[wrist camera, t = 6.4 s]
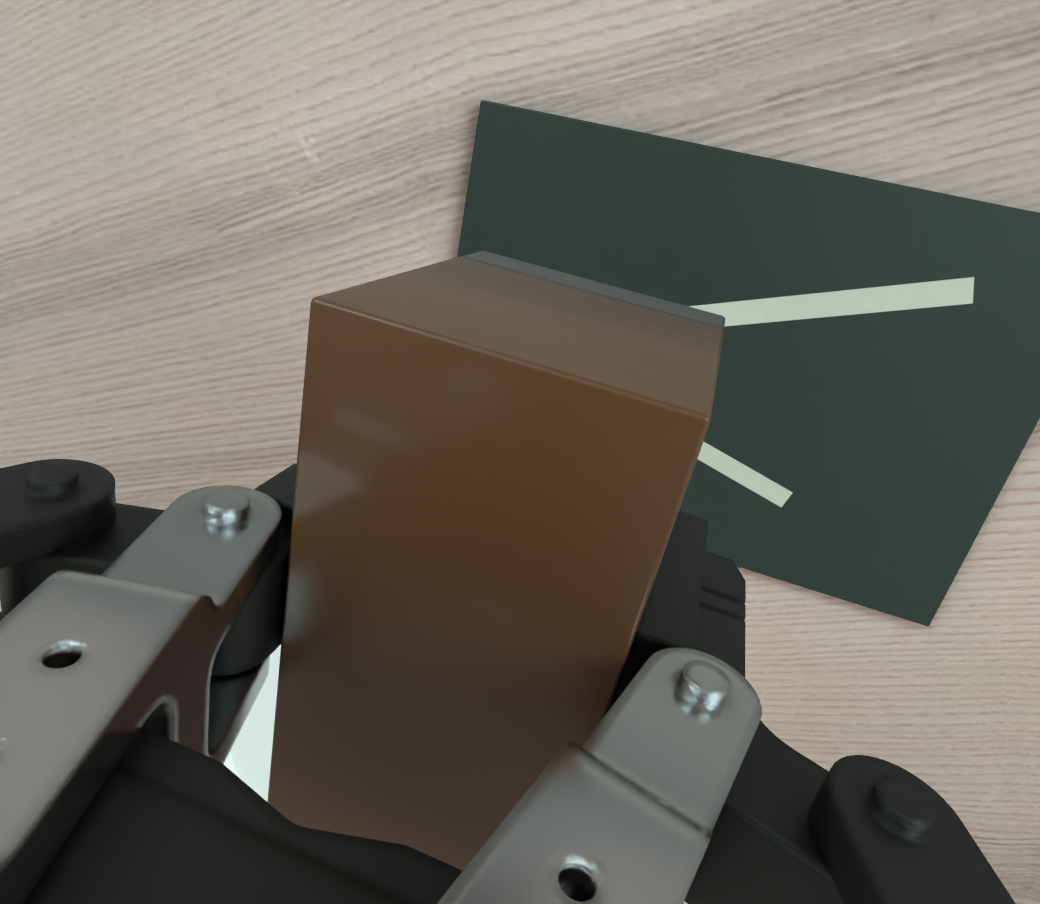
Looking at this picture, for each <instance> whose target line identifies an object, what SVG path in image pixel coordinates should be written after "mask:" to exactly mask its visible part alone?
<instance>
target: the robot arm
mask: <svg viewBox="0 0 1040 904" xmlns="http://www.w3.org/2000/svg"><path fill="white" fill-rule="evenodd" d="M296 469H297V464H293V465H292V466H290V467H289V468H287V469H285V470H284V471H282V472H281V473H279V474H278V475H276V476H274V477H273V478H271V479H270V480H268V481H267V482H265V483H263V484H262V485H260V486H259V487H257V488H256V489H250V488H245V487H239V486H212V487H205V488H200V489H197V490H193V491H191V492H188V493H186V494H184V495H182V496H180V497H179V498H177V499H176V500H175V501H174V502H173V503H172V504H171V505H170V506H169V507H168V508H167V509H166V510H158V509H152V508H145V507H138V506H132V505H125V504H118V503H116V500H115V479H114V477H113V475H112V474H111V473H110V472H109V471H108V470H106V469H105V468H103V467H101V466H99V465H96V464H93V463H89V462H85V461H79V460H70V459H50V460H40V461H34V462H28V463H23V464H19V465H14V466H10V467H5V468H1V469H0V600H1V609H2V612H0V904H683V902H684V901H686V902H687V903H688V904H1015V902H1014V901H1013V899H1012V898H1011V896H1010V895H1009V893H1008V892H1007V890H1006V889H1005V887H1004V886H1003V884H1002V882H1001V881H1000V879H999V878H998V876H997V875H996V873H995V872H994V870H993V869H992V867H991V866H990V864H989V863H988V861H987V860H986V858H985V856H984V855H983V853H982V852H981V850H980V849H979V847H978V846H977V844H976V843H975V841H974V840H973V838H972V837H971V835H970V834H969V832H968V831H967V829H966V827H965V826H964V824H963V823H962V821H961V820H960V818H959V817H958V816H957V814H956V813H955V812H954V810H953V809H952V808H951V807H950V806H949V805H948V803H947V802H946V801H945V800H944V799H943V798H942V797H941V796H940V795H939V794H938V793H937V792H936V791H934V790H933V789H932V788H931V787H930V786H928V785H927V784H926V783H925V782H923V781H922V780H920V779H919V778H917V777H916V776H914V775H913V774H912V773H910V772H908V771H906V770H904V769H903V768H901V767H899V766H897V765H894V764H892V763H890V762H888V761H885V760H882V759H879V758H875V757H870V756H863V755H853V756H847V757H844V758H841V759H839V760H838V761H837V762H835V763H834V765H833V766H832V768H831V769H830V771H827V770H825V769H824V768H822V767H821V766H819V765H817V764H816V763H814V762H813V761H811V760H809V759H808V758H806V757H805V756H803V755H801V754H800V753H798V752H797V751H795V750H794V749H792V748H791V747H789V746H788V745H786V744H785V743H784V742H782V741H781V740H780V739H779V738H778V737H776V736H775V735H774V734H773V733H772V732H771V731H770V730H769V729H768V728H767V727H766V726H765V725H764V724H763V723H762V721H761V720H760V719H761V716H762V707H761V704H760V700H759V698H758V696H757V694H756V692H755V690H754V689H753V687H752V686H751V684H750V683H749V682H748V681H747V680H746V679H745V622H744V620H745V605H744V604H745V580H744V578H743V576H742V575H741V573H740V571H739V570H738V568H737V566H736V565H735V563H734V562H733V560H732V559H729V558H726V557H723V556H720V555H717V554H714V553H711V552H708V551H705V550H706V541H707V532H708V523H709V521H708V520H706V519H703V518H700V517H697V516H694V515H691V514H688V513H685V512H682V511H679V512H678V515H677V518H676V521H675V523H674V526H673V529H672V532H671V535H670V538H669V540H668V543H667V546H666V549H665V552H664V555H663V557H662V560H661V563H660V566H659V569H658V572H657V574H656V577H655V580H654V583H653V586H652V589H651V591H650V594H649V597H648V600H647V603H646V606H645V608H644V611H643V614H642V617H641V620H640V622H639V625H638V628H637V631H636V634H635V637H634V639H633V642H632V645H631V648H630V651H629V654H628V656H627V659H626V662H625V665H624V668H623V671H622V673H621V676H620V679H619V682H618V685H617V688H616V690H615V693H614V696H613V699H612V702H611V705H610V707H609V710H608V713H607V714H606V715H605V717H604V718H603V719H602V721H601V722H600V723H599V724H598V726H597V727H596V728H595V730H594V731H593V732H592V734H591V735H590V736H589V738H588V739H587V740H586V742H585V743H584V744H583V745H582V747H581V746H580V745H578V744H577V743H575V742H574V741H569V742H568V743H566V744H565V745H564V746H563V747H562V748H561V749H560V750H559V751H558V753H557V754H556V755H555V756H554V757H553V759H552V760H551V761H550V762H549V764H548V765H547V766H546V768H545V769H544V770H543V771H542V773H541V774H540V775H539V776H538V778H537V779H536V780H535V781H534V783H533V784H532V785H531V786H530V788H529V789H528V790H527V791H526V793H525V794H524V795H523V796H522V798H521V799H520V800H519V801H518V803H517V804H516V805H515V806H514V808H513V809H512V810H511V811H510V813H509V814H508V815H507V816H506V818H505V819H504V820H503V821H502V823H501V824H500V825H499V826H498V828H497V829H496V830H495V831H494V833H493V834H492V835H491V836H490V838H489V839H488V840H487V841H486V843H485V844H484V845H483V846H482V848H481V849H480V850H479V851H478V853H477V854H476V855H475V856H474V858H473V859H472V860H471V861H470V863H469V864H468V865H467V867H466V868H465V869H464V870H460V869H458V868H456V867H454V866H451V865H449V864H447V863H445V862H443V861H440V860H438V859H436V858H434V857H431V856H429V855H427V854H425V853H422V852H420V851H418V850H416V849H413V848H411V847H409V846H407V845H402V844H397V843H391V842H385V841H380V840H374V839H368V838H362V837H357V836H351V835H345V834H340V833H334V832H328V831H322V830H317V829H311V828H306V827H302V826H299V825H296V824H294V823H292V822H291V821H289V820H288V819H287V818H285V817H284V816H283V815H282V814H281V813H280V812H278V811H277V810H276V809H275V808H274V807H273V806H271V805H270V804H269V803H268V802H267V801H266V800H264V799H263V798H262V797H261V796H260V795H259V794H257V793H256V792H255V791H254V790H253V789H252V788H250V787H249V786H248V785H247V784H246V783H245V782H243V781H242V780H241V779H240V778H239V777H238V776H236V775H235V774H234V773H233V772H232V771H231V770H229V769H228V768H227V767H226V766H225V765H224V762H225V760H226V758H227V756H228V754H229V752H230V750H231V748H232V746H233V744H234V742H235V740H236V738H237V736H238V734H239V732H240V730H241V728H242V726H243V724H244V722H245V720H246V718H247V716H248V714H249V712H250V710H251V708H252V706H253V704H254V702H255V700H256V698H257V696H258V694H259V692H260V690H261V688H262V686H263V684H264V682H265V680H266V678H267V675H268V672H269V661H270V655H271V654H272V653H273V652H274V651H275V650H276V649H277V648H278V647H279V646H280V645H281V641H282V629H283V618H284V607H285V595H286V584H287V572H288V561H289V549H290V538H291V526H292V515H293V504H294V492H295V481H296Z"/></svg>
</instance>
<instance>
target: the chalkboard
mask: <svg viewBox="0 0 1040 904" xmlns="http://www.w3.org/2000/svg"><path fill="white" fill-rule="evenodd" d="M480 251H487V252H490V253H494V254H498V255H501V256H505V257H509V258H512V259H516V260H520V261H523V262H527V263H531V264H534V265H538V266H542V267H545V268H549V269H553V270H556V271H560V272H564V273H567V274H571V275H575V276H578V277H582V278H586V279H589V280H593V281H597V282H600V283H604V284H608V285H611V286H615V287H619V288H623V289H626V290H630V291H634V292H637V293H641V294H645V295H648V296H652V297H656V298H659V299H663V300H667V301H670V302H674V303H678V304H681V305H685V306H689V307H692V308H696V309H700V310H703V311H707V312H711V313H714V314H718V315H722V316H723V317H725V327H724V335H723V341H722V348H721V355H720V362H719V368H718V375H717V382H716V389H715V395H714V402H713V409H712V415H711V422H710V424H709V427H708V430H707V433H706V436H705V439H704V441H703V444H702V447H701V450H700V453H699V456H698V458H697V461H696V464H695V467H694V470H693V473H692V475H691V478H690V481H689V484H688V487H687V490H686V492H685V495H684V498H683V501H682V504H681V507H680V509H679V511H682V512H685V513H688V514H691V515H694V516H697V517H700V518H703V519H706V520H708V521H709V523H708V532H707V541H706V550H705V551H708V552H711V553H714V554H717V555H720V556H723V557H726V558H729V559H732V560H733V562H734V563H735V565H736V566H739V567H742V568H745V569H748V570H751V571H754V572H758V573H761V574H764V575H767V576H770V577H774V578H777V579H780V580H783V581H786V582H789V583H793V584H796V585H799V586H802V587H805V588H808V589H812V590H815V591H818V592H821V593H824V594H827V595H831V596H834V597H837V598H840V599H843V600H846V601H850V602H853V603H856V604H859V605H862V606H866V607H869V608H872V609H875V610H878V611H881V612H885V613H888V614H891V615H894V616H897V617H900V618H904V619H907V620H910V621H913V622H916V623H919V624H923V625H926V626H929V625H930V623H931V621H932V619H933V617H934V615H935V614H936V612H937V610H938V608H939V606H940V604H941V602H942V600H943V599H944V597H945V595H946V593H947V591H948V589H949V587H950V585H951V584H952V582H953V580H954V578H955V576H956V574H957V572H958V570H959V568H960V567H961V565H962V563H963V561H964V559H965V557H966V555H967V553H968V552H969V550H970V548H971V546H972V544H973V542H974V540H975V538H976V537H977V535H978V533H979V531H980V529H981V527H982V525H983V523H984V521H985V520H986V518H987V516H988V514H989V512H990V510H991V508H992V506H993V505H994V503H995V501H996V499H997V497H998V495H999V493H1000V491H1001V490H1002V488H1003V486H1004V484H1005V482H1006V480H1007V478H1008V476H1009V474H1010V473H1011V471H1012V469H1013V467H1014V465H1015V463H1016V461H1017V459H1018V458H1019V456H1020V454H1021V452H1022V450H1023V448H1024V446H1025V444H1026V443H1027V441H1028V439H1029V437H1030V435H1031V433H1032V431H1033V429H1034V427H1035V426H1036V424H1037V422H1038V420H1039V418H1040V213H1036V212H1031V211H1027V210H1022V209H1017V208H1012V207H1007V206H1002V205H997V204H992V203H987V202H982V201H977V200H972V199H967V198H962V197H957V196H953V195H948V194H943V193H938V192H933V191H928V190H923V189H918V188H913V187H908V186H903V185H898V184H893V183H888V182H883V181H879V180H874V179H869V178H864V177H859V176H854V175H849V174H844V173H839V172H834V171H829V170H824V169H819V168H814V167H809V166H805V165H800V164H795V163H790V162H785V161H780V160H775V159H770V158H765V157H760V156H755V155H750V154H745V153H740V152H735V151H731V150H726V149H721V148H716V147H711V146H706V145H701V144H696V143H691V142H686V141H681V140H676V139H671V138H666V137H661V136H657V135H652V134H647V133H642V132H637V131H632V130H627V129H622V128H617V127H612V126H607V125H602V124H597V123H592V122H587V121H583V120H578V119H573V118H568V117H563V116H558V115H553V114H548V113H543V112H538V111H533V110H528V109H523V108H518V107H513V106H509V105H504V104H499V103H494V102H489V101H484V100H482V101H481V104H480V111H479V117H478V124H477V131H476V137H475V144H474V151H473V157H472V164H471V170H470V177H469V184H468V190H467V197H466V204H465V210H464V217H463V223H462V230H461V237H460V243H459V250H458V257H462V256H466V255H469V254H473V253H476V252H480Z"/></svg>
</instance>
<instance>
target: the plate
mask: <svg viewBox="0 0 1040 904" xmlns="http://www.w3.org/2000/svg"><path fill="white" fill-rule="evenodd" d="M280 652H281V645H280V646H279V647H278V648H277V649H276V650H275V651H274V652H273V653H272V654H271V655H270V661H269V672H268V675H267V678H266V680H265V682H264V684H263V686H262V688H261V690H260V692H259V694H258V696H257V698H256V700H255V702H254V704H253V706H252V708H251V710H250V712H249V714H248V716H247V718H246V720H245V722H244V724H243V726H242V728H241V730H240V732H239V734H238V736H237V738H236V740H235V742H234V744H233V746H232V748H231V750H230V752H229V754H228V756H227V758H226V760H225V762H224V765H225V766H226V767H227V768H228V769H229V770H231V771H232V772H233V773H234V774H235V775H236V776H238V777H239V778H240V779H241V780H242V781H243V782H245V783H246V784H247V785H248V786H249V787H250V788H252V789H253V790H254V791H255V792H256V793H257V794H259V795H260V796H261V797H262V798H263V799H264V800H266V801H268V790H269V778H270V767H271V755H272V744H273V733H274V721H275V710H276V698H277V687H278V675H279V664H280Z"/></svg>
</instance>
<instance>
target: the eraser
mask: <svg viewBox="0 0 1040 904" xmlns="http://www.w3.org/2000/svg"><path fill="white" fill-rule="evenodd" d="M724 327H725V317H723V316H722V315H718V314H714V313H711V312H707V311H703V310H700V309H696V308H692V307H689V306H685V305H681V304H678V303H674V302H670V301H667V300H663V299H659V298H656V297H652V296H648V295H645V294H641V293H637V292H634V291H630V290H626V289H623V288H619V287H615V286H611V285H608V284H604V283H600V282H597V281H593V280H589V279H586V278H582V277H578V276H575V275H571V274H567V273H564V272H560V271H556V270H553V269H549V268H545V267H542V266H538V265H534V264H531V263H527V262H523V261H520V260H516V259H512V258H509V257H505V256H501V255H498V254H494V253H490V252H487V251H480V252H476V253H473V254H469V255H466V256H462V257H457V258H454V259H450V260H446V261H443V262H439V263H436V264H432V265H429V266H425V267H422V268H418V269H414V270H411V271H407V272H404V273H400V274H397V275H393V276H390V277H386V278H382V279H379V280H375V281H372V282H368V283H365V284H361V285H358V286H354V287H350V288H347V289H343V290H340V291H336V292H333V293H329V294H325V295H322V296H318V297H315V298H313V299H312V301H311V309H310V320H309V332H308V343H307V355H306V366H305V378H304V389H303V400H302V412H301V423H300V435H299V446H298V458H297V469H296V481H295V492H294V504H293V515H292V526H291V538H290V549H289V561H288V572H287V584H286V595H285V607H284V618H283V629H282V641H281V652H280V664H279V675H278V687H277V698H276V710H275V721H274V733H273V744H272V755H271V767H270V778H269V790H268V801H267V802H268V803H269V804H270V805H271V806H273V807H274V808H275V809H276V810H277V811H278V812H280V813H281V814H282V815H283V816H284V817H285V818H287V819H288V820H289V821H291V822H292V823H294V824H296V825H299V826H302V827H306V828H311V829H317V830H322V831H328V832H334V833H340V834H345V835H351V836H357V837H362V838H368V839H374V840H380V841H385V842H391V843H397V844H402V845H407V846H409V847H411V848H413V849H416V850H418V851H420V852H422V853H425V854H427V855H429V856H431V857H434V858H436V859H438V860H440V861H443V862H445V863H447V864H449V865H451V866H454V867H456V868H458V869H460V870H464V869H465V868H466V867H467V865H468V864H469V863H470V861H471V860H472V859H473V858H474V856H475V855H476V854H477V853H478V851H479V850H480V849H481V848H482V846H483V845H484V844H485V843H486V841H487V840H488V839H489V838H490V836H491V835H492V834H493V833H494V831H495V830H496V829H497V828H498V826H499V825H500V824H501V823H502V821H503V820H504V819H505V818H506V816H507V815H508V814H509V813H510V811H511V810H512V809H513V808H514V806H515V805H516V804H517V803H518V801H519V800H520V799H521V798H522V796H523V795H524V794H525V793H526V791H527V790H528V789H529V788H530V786H531V785H532V784H533V783H534V781H535V780H536V779H537V778H538V776H539V775H540V774H541V773H542V771H543V770H544V769H545V768H546V766H547V765H548V764H549V762H550V761H551V760H552V759H553V757H554V756H555V755H556V754H557V753H558V751H559V750H560V749H561V748H562V747H563V746H564V745H565V744H566V743H568V742H569V741H574V742H575V743H577V744H578V745H580V746H581V747H582V745H583V744H584V743H585V742H586V740H587V739H588V738H589V736H590V735H591V734H592V732H593V731H594V730H595V728H596V727H597V726H598V724H599V723H600V722H601V721H602V719H603V718H604V717H605V715H606V714H607V713H608V710H609V707H610V705H611V702H612V699H613V696H614V693H615V690H616V688H617V685H618V682H619V679H620V676H621V673H622V671H623V668H624V665H625V662H626V659H627V656H628V654H629V651H630V648H631V645H632V642H633V639H634V637H635V634H636V631H637V628H638V625H639V622H640V620H641V617H642V614H643V611H644V608H645V606H646V603H647V600H648V597H649V594H650V591H651V589H652V586H653V583H654V580H655V577H656V574H657V572H658V569H659V566H660V563H661V560H662V557H663V555H664V552H665V549H666V546H667V543H668V540H669V538H670V535H671V532H672V529H673V526H674V523H675V521H676V518H677V515H678V512H679V509H680V507H681V504H682V501H683V498H684V495H685V492H686V490H687V487H688V484H689V481H690V478H691V475H692V473H693V470H694V467H695V464H696V461H697V458H698V456H699V453H700V450H701V447H702V444H703V441H704V439H705V436H706V433H707V430H708V427H709V424H710V422H711V415H712V409H713V402H714V395H715V389H716V382H717V375H718V368H719V362H720V355H721V348H722V341H723V335H724Z"/></svg>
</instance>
